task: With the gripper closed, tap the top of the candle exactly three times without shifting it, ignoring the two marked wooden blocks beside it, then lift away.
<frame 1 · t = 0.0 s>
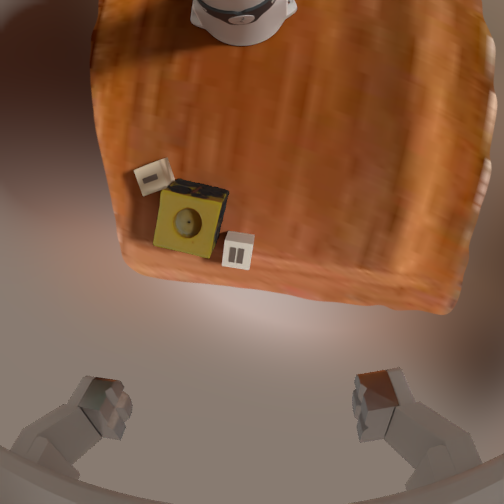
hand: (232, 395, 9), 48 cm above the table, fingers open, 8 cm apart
beech block marked: (159, 174, 55), on the table
candle: (198, 208, 57), on the table
cream block marked: (239, 244, 59), on the table
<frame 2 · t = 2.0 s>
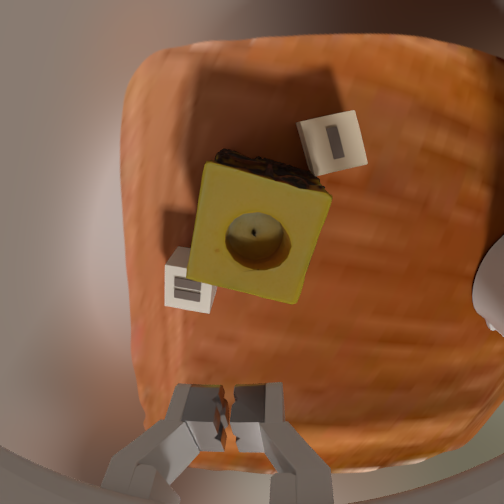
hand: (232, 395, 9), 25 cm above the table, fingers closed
beech block marked: (325, 140, 30), on the table
candle: (258, 204, 33), on the table
cream block marked: (197, 268, 36), on the table
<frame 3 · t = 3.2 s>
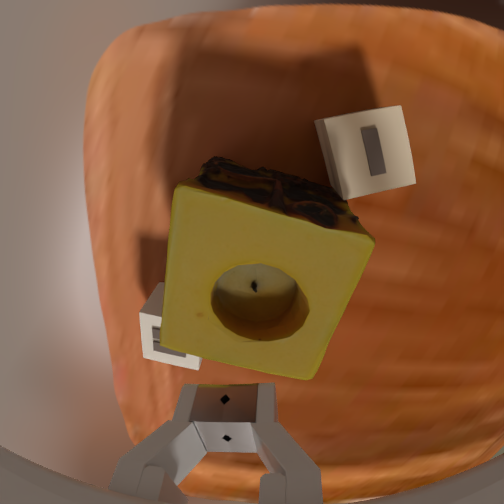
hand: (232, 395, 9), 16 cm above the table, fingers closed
beech block marked: (353, 145, 21), on the table
candle: (261, 231, 25), on the table
cream block marked: (184, 309, 28), on the table
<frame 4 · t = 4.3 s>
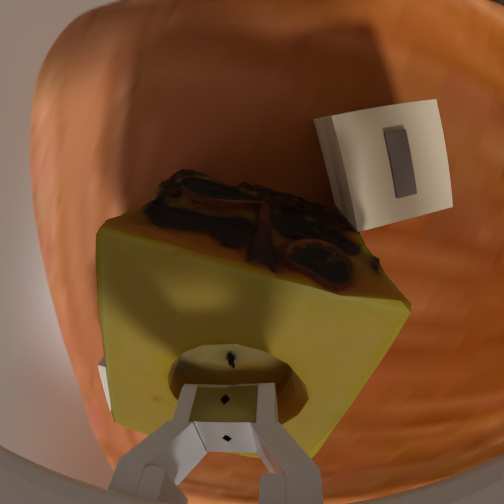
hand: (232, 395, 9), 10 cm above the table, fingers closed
beech block marked: (365, 152, 16), on the table
candle: (245, 264, 19), on the table
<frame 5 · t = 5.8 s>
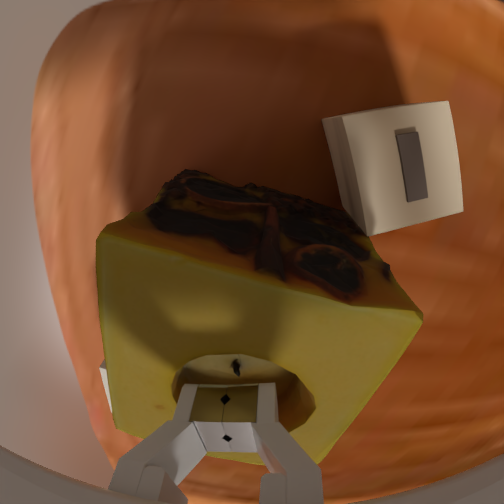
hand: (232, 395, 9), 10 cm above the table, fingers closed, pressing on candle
beech block marked: (374, 153, 16), on the table
candle: (250, 266, 19), on the table, touching gripper
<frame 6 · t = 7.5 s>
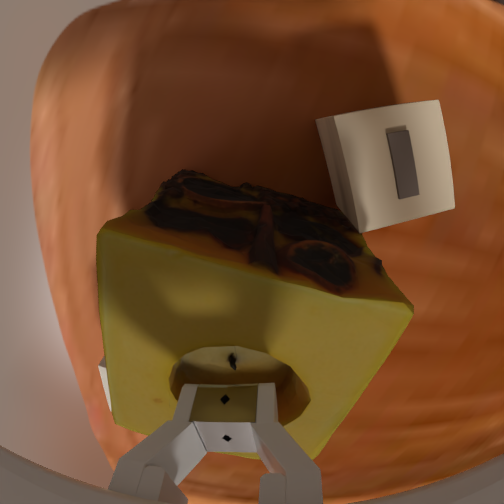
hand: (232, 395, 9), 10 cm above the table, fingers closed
beech block marked: (367, 153, 16), on the table
candle: (246, 265, 19), on the table
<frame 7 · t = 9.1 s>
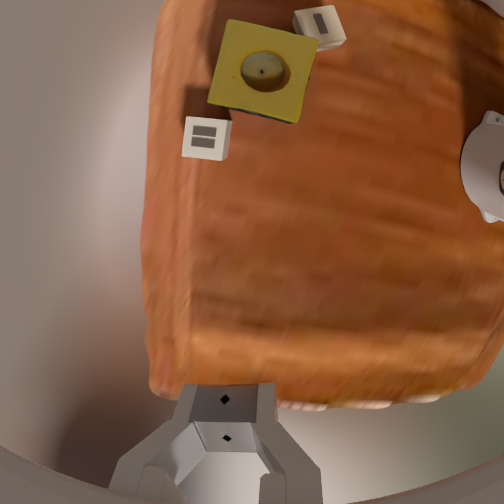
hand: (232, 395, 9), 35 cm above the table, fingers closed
beech block marked: (315, 35, 33), on the table
candle: (264, 80, 36), on the table
cream block marked: (211, 136, 39), on the table
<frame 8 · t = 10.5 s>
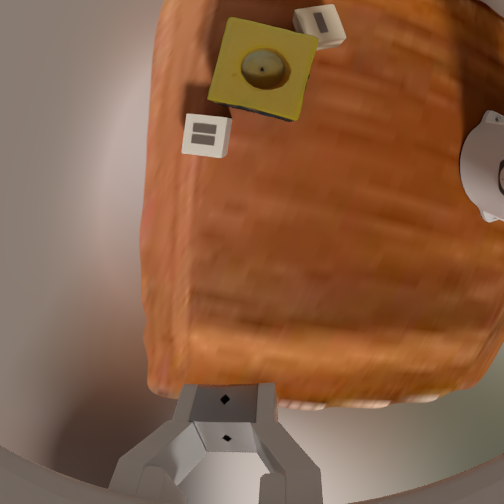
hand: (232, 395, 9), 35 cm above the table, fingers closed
beech block marked: (315, 33, 33), on the table
candle: (264, 78, 36), on the table
cream block marked: (211, 134, 39), on the table
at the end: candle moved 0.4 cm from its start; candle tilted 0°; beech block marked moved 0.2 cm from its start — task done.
